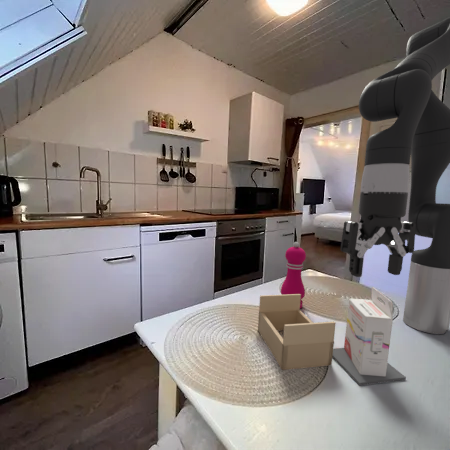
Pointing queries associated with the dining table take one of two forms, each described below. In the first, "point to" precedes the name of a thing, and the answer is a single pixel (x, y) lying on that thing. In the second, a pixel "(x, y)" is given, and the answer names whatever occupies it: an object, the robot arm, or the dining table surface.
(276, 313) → the carton
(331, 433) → the dining table surface
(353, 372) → the mat
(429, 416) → the dining table surface
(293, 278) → the pepper mill
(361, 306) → the ink cartridge box
